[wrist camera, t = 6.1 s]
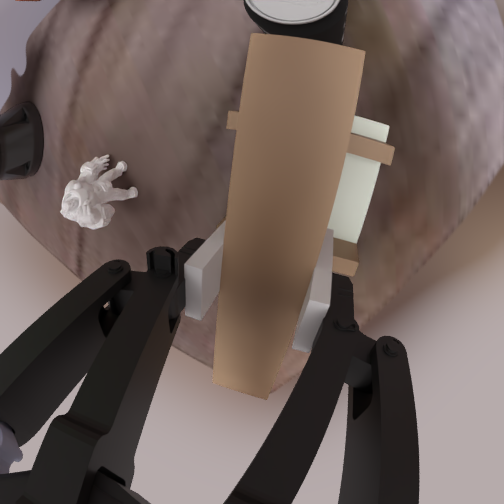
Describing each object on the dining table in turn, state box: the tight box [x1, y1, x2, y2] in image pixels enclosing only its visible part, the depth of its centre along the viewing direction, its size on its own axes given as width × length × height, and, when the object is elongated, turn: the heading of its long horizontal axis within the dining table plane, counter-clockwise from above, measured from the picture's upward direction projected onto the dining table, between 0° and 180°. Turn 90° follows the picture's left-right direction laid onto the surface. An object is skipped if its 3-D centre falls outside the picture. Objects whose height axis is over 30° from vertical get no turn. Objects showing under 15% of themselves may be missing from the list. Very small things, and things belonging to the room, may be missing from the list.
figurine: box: [60, 155, 138, 230], centre depth 28 cm, size 10×5×12 cm, turn 65°
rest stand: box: [216, 111, 395, 277], centre depth 25 cm, size 14×16×5 cm
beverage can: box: [244, 0, 348, 45], centre depth 14 cm, size 7×7×12 cm
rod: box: [213, 33, 365, 400], centre depth 15 cm, size 4×20×6 cm, turn 172°
